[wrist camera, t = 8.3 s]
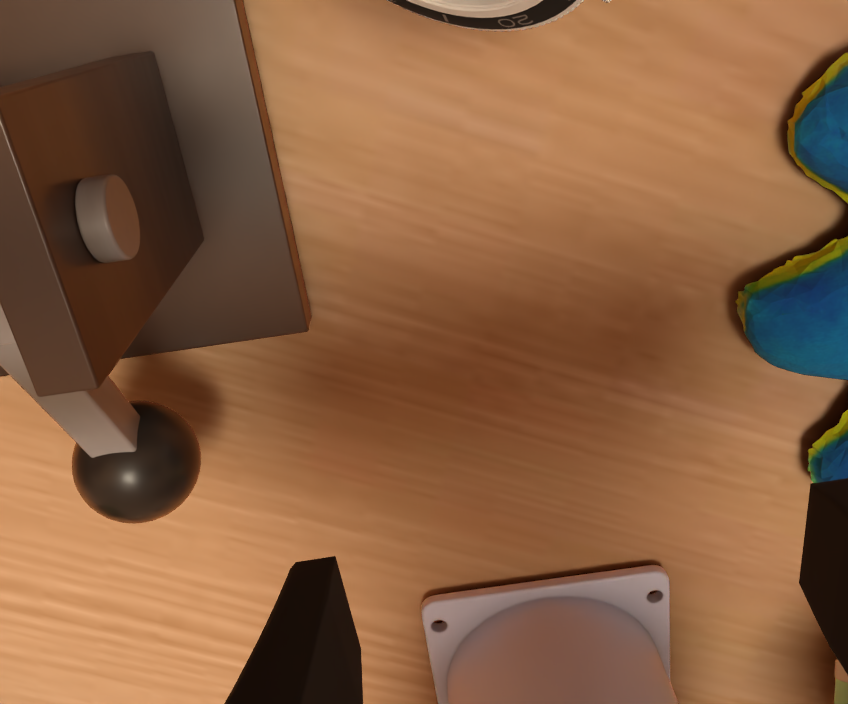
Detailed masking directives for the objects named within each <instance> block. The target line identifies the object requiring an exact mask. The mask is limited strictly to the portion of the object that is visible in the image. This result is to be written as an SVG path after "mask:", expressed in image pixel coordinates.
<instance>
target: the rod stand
mask: <svg viewBox="0 0 848 704" xmlns="http://www.w3.org/2000/svg"><path fill="white" fill-rule="evenodd" d="M0 304H1V306H2V309H3V311H4V314H5V316H6V319H7V321H8V324H9V326H10V329H11V331H12V334H13V336H14V339H15V341H16V344H17V346H18V349H19V351H20V354H21V356H22V359H23V361H24V364H25V366H26V369H27V371H28V374H29V376H30V379H31V381H32V384H33V386H34V389H35V391H36V394H37V396H38V397H44V396H51V395H58V394H65V393H72V392H79V391H86V390H93V389H98V388H100V386H101V385H102V384H103V382H104V381H105V379H106V378H107V377H108V375H109V374H110V372H111V371H112V370H113V368H114V367H115V365H116V364H117V362H118V361H119V360H120V359H123V358H130V357H137V356H144V355H151V354H158V353H164V352H171V351H178V350H185V349H192V348H199V347H206V346H213V345H219V344H226V343H233V342H240V341H247V340H254V339H261V338H267V337H274V336H281V335H288V334H295V333H302V332H307V331H308V330H309V325H310V321H311V312H310V307H309V303H308V298H307V294H306V289H305V284H304V280H303V275H302V271H301V266H300V261H299V257H298V252H297V248H296V243H295V239H294V234H293V229H292V225H291V220H290V216H289V211H288V206H287V202H286V197H285V193H284V188H283V184H282V179H281V174H280V170H279V165H278V161H277V156H276V151H275V147H274V142H273V138H272V133H271V128H270V124H269V119H268V115H267V110H266V106H265V101H264V96H263V92H262V87H261V83H260V78H259V73H258V69H257V64H256V60H255V55H254V51H253V46H252V41H251V37H250V32H249V28H248V23H247V18H246V14H245V9H244V5H243V0H0ZM6 375H9V374H8V373H7V372H6V371H5V370H4V369H3V368H2V367H1V366H0V376H6Z"/></svg>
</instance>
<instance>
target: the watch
mask: <svg viewBox="0 0 848 704" xmlns="http://www.w3.org/2000/svg"><path fill="white" fill-rule="evenodd" d="M387 1H388V2H391V3H393V4H395V5H397V6H399V7H402V8H403V9H405V10H408V11H410V12H412V13H416V14H418V15H420V16H424V17H426V18H428V19H432V20H434V21H439V22H441V23H446V24H449V25H454V26H456V27H463V28H466V29H467V28H470V29H473V30H475V29H477V30H480V31H482V30H485V31H495V32H496V31H501V32H504V31H512V30H514V31H518V30H519V29H520V30H525V29H526V28H528V29H531V28H532V27H539V25H541V26H543V25H545V23H548V24H549V23H551V22H552V21H556V20H557V19H558V18H562V17H563V16H564V15H567V14H569V11H573V10H574V8H577V7H578V6H579V4H580V3H582V2H583V1H584V0H387ZM602 1H604V2H606V3H607V2H610V1H611V0H602Z"/></svg>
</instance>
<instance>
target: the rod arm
mask: <svg viewBox="0 0 848 704" xmlns="http://www.w3.org/2000/svg"><path fill="white" fill-rule="evenodd" d="M0 366H1V367H2V368H3V369H4V370H5V371H6V372H7V373H8V374H9V375H10V376H11V377H12V378H13V379H14V380H15V381H16V382H17V383H18V384H19V385H20V386H21V387H22V388H23V389H24V390H25V391H26V392H27V393H28V394H29V395H30V396H31V397H32V398H33V399H34V400H35V401H36V402H37V403H38V404H39V405H40V406H41V407H42V408H43V409H44V410H45V411H46V412H47V413H48V414H49V415H50V416H51V417H52V418H53V419H54V420H55V421H56V422H57V423H58V424H59V425H60V426H61V427H62V428H63V429H64V430H65V431H66V432H67V433H68V434H69V435H70V436H71V438H72V439H73V440H74V441H75V442H76V445H75V448H74V452H73V457H72V473H73V478H74V482H75V485H76V487H77V490H78V491H79V493H80V495H81V496H82V498H83V499H84V501H85V502H86V503H87V504H88V505H89V506H90V507H91V508H92V509H94V510H95V511H96V512H97V513H99V514H101V515H103V516H105V517H106V518H109V519H111V520H115V521H119V522H123V523H143V522H149V521H153V520H156V519H158V518H161V517H163V516H165V515H167V514H169V513H170V512H172V511H173V510H175V509H176V508H177V507H178V506H180V505H181V504H182V503H183V502H184V500H185V499H186V498H187V497H188V496H189V494H190V493H191V491H192V490H193V488H194V486H195V484H196V482H197V479H198V475H199V472H200V466H201V452H200V446H199V443H198V440H197V437H196V435H195V433H194V431H193V429H192V428H191V426H190V425H189V424H188V422H187V421H186V420H185V419H184V418H183V417H182V416H181V415H179V414H178V413H177V412H175V411H174V410H172V409H170V408H168V407H166V406H164V405H161V404H158V403H154V402H149V401H131V402H129V401H128V400H127V399H126V398H125V396H124V395H123V394H122V393H121V391H120V390H119V389H118V388H117V386H116V385H115V384H114V383H113V381H112V380H111V379H110V378H109V376H108V377H107V378H106V379H105V381H104V382H103V384H102V385H101V386H100V388H98V389H93V390H86V391H79V392H72V393H65V394H58V395H51V396H44V397H38V396H37V394H36V391H35V389H34V386H33V384H32V381H31V379H30V376H29V374H28V371H27V369H26V366H25V364H24V361H23V359H22V356H21V354H20V351H19V349H18V346H17V344H16V341H15V339H14V336H13V334H12V331H11V329H10V326H9V324H8V321H7V319H6V316H5V314H4V311H3V309H2V306H1V304H0Z"/></svg>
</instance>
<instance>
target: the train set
mask: <svg viewBox="0 0 848 704" xmlns="http://www.w3.org/2000/svg"><path fill="white" fill-rule="evenodd" d="M834 676H835V678H836V680H835V694H834V704H848V675H847V673H846V672H845V670H844V668H843V667H842V665H841V664H840V662H839V660H838V659H836V660H835V672H834Z"/></svg>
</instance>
